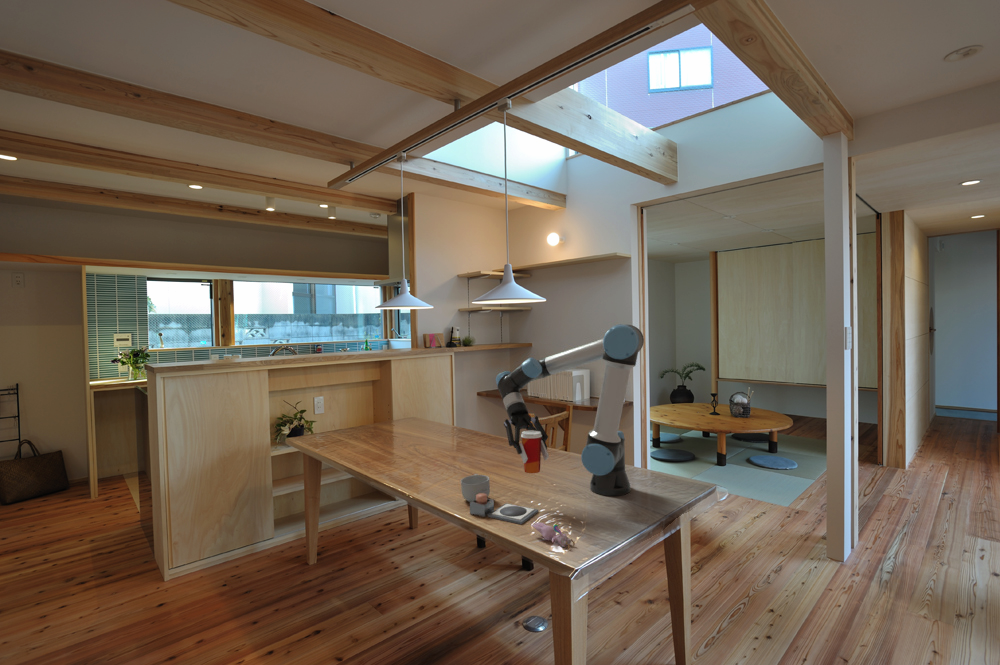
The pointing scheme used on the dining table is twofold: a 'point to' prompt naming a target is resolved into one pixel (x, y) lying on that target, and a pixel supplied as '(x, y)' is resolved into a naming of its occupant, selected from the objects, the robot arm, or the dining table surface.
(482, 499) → the button
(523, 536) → the dining table surface
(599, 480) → the robot arm
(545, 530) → the pink unicorn toy
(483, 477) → the teacup
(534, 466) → the paper cup
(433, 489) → the dining table surface
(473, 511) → the button housing
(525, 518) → the board
